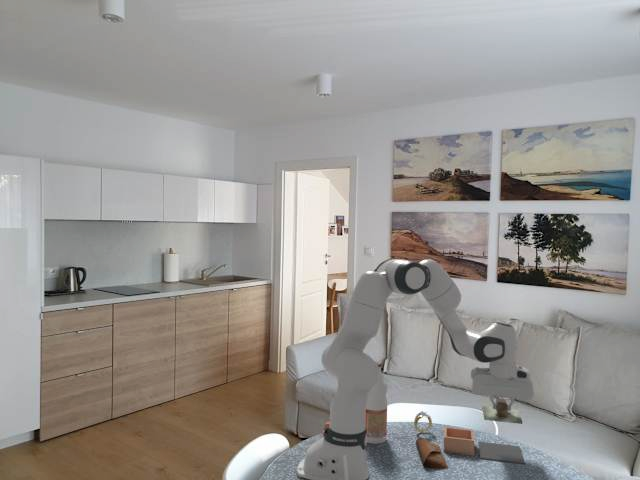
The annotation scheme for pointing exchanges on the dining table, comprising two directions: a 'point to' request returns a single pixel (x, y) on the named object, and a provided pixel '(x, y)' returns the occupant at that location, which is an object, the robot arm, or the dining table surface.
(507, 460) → the mat
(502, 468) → the dining table surface
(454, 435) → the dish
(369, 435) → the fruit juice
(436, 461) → the sunglasses case
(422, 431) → the ring
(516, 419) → the lid
